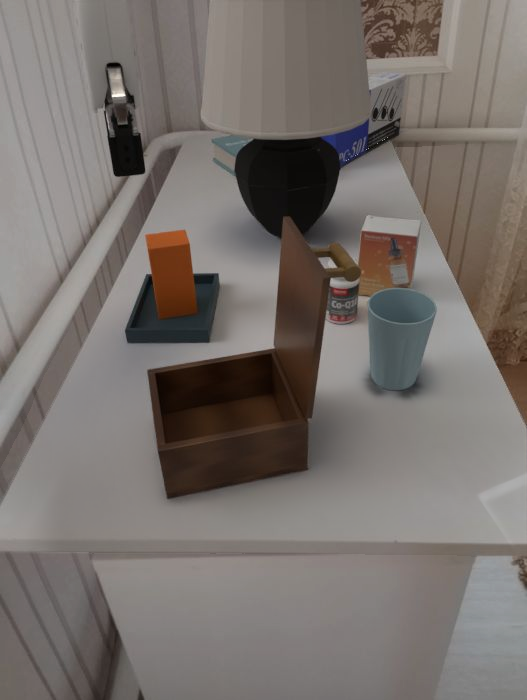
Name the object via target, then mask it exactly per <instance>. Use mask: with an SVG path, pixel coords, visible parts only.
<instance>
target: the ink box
mask: <svg viewBox="0 0 527 700" xmlns="http://www.w3.org/2000/svg"><path fill="white" fill-rule="evenodd" d="M406 76H407V75H406V74H403V73H394V72H389V71H388V72H387V71H381V72H379V73H376V74H373V75H371V76H368V82H369V91H370V99H371V105H372V115H371V116H370V118H369V119H368V120H367V121H366V122H365V123H364V124H362V125H360V126H358V127H356V128H353V129H351V130H348V131H344V132H341V133H337V134H333V135H327V136H321V138H322V139H324V140H325V141H327V142H328V143H330V144H331V145H332V146H333V147H334V148H335V149H336V150H337V152H338V155H339V159H340V167H342V166H345V165H346V164H348V163H350V162H351V161H353V160H355V159H357V158H358V157H360V156H363V155H364V154H366V153H368V152H370V151H372V150H374V149H375V148H378V147H379V146H380V145H383V144H385V143H387V142H389V141H391V140H392V139H394V138H395V137H397V136H399V135H400V129H401V120H402V109H403V101H404V93H405V92H404V91H405V84H406ZM387 137H388V138H387ZM384 139H385V140H384ZM382 140H383V141H382ZM377 143H378V144H377ZM368 148H369V149H368ZM366 149H367V150H366ZM357 154H358V155H357ZM355 155H356V156H355ZM348 159H349V160H348ZM346 160H347V161H346Z"/></svg>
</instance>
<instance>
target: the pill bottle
mask: <svg viewBox="0 0 527 700" xmlns="http://www.w3.org/2000/svg"><path fill="white" fill-rule="evenodd" d="M351 258H352V259H353V260H354V261H355V263H356V264H357V265H358V261H357V260H356V259H355V258H354V257H351ZM327 268H337V267H336V265H335V264H334V262H333V261H332V260H331V258H330V259H329V260H328V261H327ZM358 292H359V278H358V279H357V280H356V281H353V282H349V281H347V280H346V279H345V278H344V277H338V278H331V280H330V288H329V295H328V303H327V310H326V318H325V320H327V321H328V322H330V323H333V324H336V325H337V324H338V325H343V324H344V325H345V324H350V323H352V322H353V321H355V319H356V318H357V316H358V315H357V314H358V306H359V305H358V304H359V294H358Z"/></svg>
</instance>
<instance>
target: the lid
mask: <svg viewBox="0 0 527 700" xmlns="http://www.w3.org/2000/svg"><path fill="white" fill-rule="evenodd" d="M303 235H304V234H301V233H300V231H299V230H298V228H297V227H296V225H295V224H294V222H293V221H292V219H291V218H290V216H287V217H283V226H282V237H281V241H280V253H279V254H280V255H279V266H278V267H279V268H278V281H277V295H276V307H275V320H274V334H273V347H274V348H275V349H276V352H277V354H278V356H279V359H280V361H281V363H282V366H283V368H284V370H285V372H286V375H287V377H288V379H289V382H290V384H291V386H292V389H293V391H294V393H295V396H296V398H297V400H298V402H299V405H300V407H301V409H302V412H303V414H304V416H305V419H312V418H313V414H314V408H315V407H314V406H315V400H316V392H317V385H318V378H319V377H318V376H319V369H320V363H321V362H320V361H321V356H322V355H321V353H322V346H323V339H324V331H325V324H326V310H327V303H328V295H329V288H330V280H331V278H338V277H344V278H345V279H346V280H347V281H349V282H353V281H356V280H357V279H358V278H359V277H360V275H361V269H360V268H359V267H358V265H357V264H356V263H355V261H354V260H353V259H352V258H353V257H352V256H351V255H350V254H349V252H348V251H347V250H346V248H345V247H344V245H342V243H340V242H338V241H335V242H332V243H330V244H329V245H328V247H317V248H311V245H310V244H309V243H308V241H307V240H306V238H305V237H304V236H303ZM322 258H330V259H331V260H332V261H333V262H334V264H335V265H336V267H337V268H328V267H327V268H326V267H325V266H324V265H323V264H322V262H321V260H319V259H322Z"/></svg>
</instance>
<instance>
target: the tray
mask: <svg viewBox="0 0 527 700" xmlns="http://www.w3.org/2000/svg"><path fill="white" fill-rule="evenodd" d="M193 276H194V285H195V294H196V302H197V311H198V313H197V314H190V315H184V316H178V317H171V318H165V319H159V315H158V310H157V304H156V298H155V292H154V286H153V280H152V274H151V273H146V275H145V276H144V279H143V281H142V284H141V287H140V290H139V292H138V294H137V297H136V300H135V303H134V305H133V308H132V310H131V313H130V316H129V318H128V321H127V324H126V326H125V329H124V334H125V338H126V342H127V344H139V343H140V344H143V343H144V344H145V343H147V344H149V343H151V344H152V343H157V344H158V343H159V344H160V343H162V344H163V343H165V344H166V343H169V344H170V343H171V344H173V343H210V341H211V335H212V329H213V325H214V324H213V323H214V318H215V312H216V308H217V302H218V296H219V291H220V285H221V284H220V274H219V272H206V273H205V272H202V273H201V272H199V273H198V272H197V273H195V272H193Z"/></svg>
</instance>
